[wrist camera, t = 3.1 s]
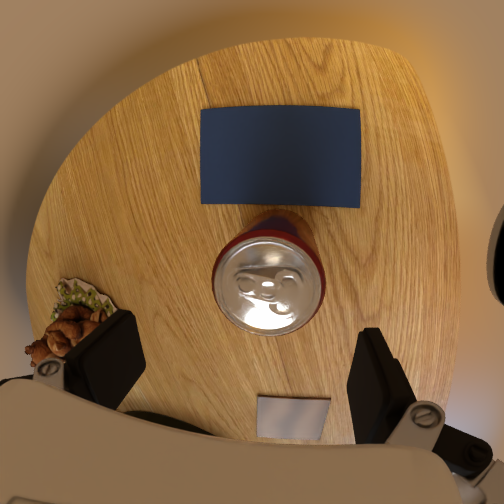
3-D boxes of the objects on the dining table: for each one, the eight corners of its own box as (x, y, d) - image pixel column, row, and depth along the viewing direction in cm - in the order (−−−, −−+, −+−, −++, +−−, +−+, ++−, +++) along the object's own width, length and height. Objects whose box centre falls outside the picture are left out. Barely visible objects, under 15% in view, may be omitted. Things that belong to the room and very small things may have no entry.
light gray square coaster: (330, 397, 32) (330, 399, 32) (319, 438, 35) (319, 439, 35) (257, 394, 34) (257, 396, 33) (256, 434, 37) (256, 436, 36)
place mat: (359, 110, 23) (359, 109, 23) (359, 207, 26) (359, 208, 25) (201, 110, 25) (200, 109, 25) (201, 203, 28) (200, 203, 28)
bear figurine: (128, 375, 37) (88, 425, 26) (60, 330, 38) (15, 364, 26) (139, 310, 33) (83, 362, 21) (61, 263, 34) (2, 292, 22)
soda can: (324, 221, 27) (345, 253, 15) (301, 286, 29) (301, 353, 17) (254, 198, 27) (224, 214, 16) (235, 265, 29) (198, 319, 18)
